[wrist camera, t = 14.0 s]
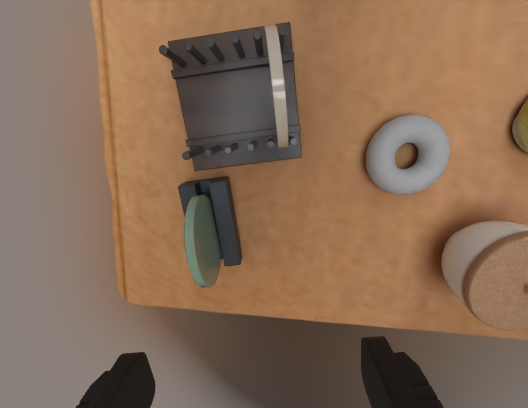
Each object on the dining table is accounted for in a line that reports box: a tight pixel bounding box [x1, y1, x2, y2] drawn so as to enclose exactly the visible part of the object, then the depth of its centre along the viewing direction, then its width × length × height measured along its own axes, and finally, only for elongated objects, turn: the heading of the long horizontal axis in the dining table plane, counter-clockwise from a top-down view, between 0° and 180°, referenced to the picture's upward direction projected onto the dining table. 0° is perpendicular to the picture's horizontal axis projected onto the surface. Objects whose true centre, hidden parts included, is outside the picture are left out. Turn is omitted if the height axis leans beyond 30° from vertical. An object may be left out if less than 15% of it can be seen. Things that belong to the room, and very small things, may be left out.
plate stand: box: [178, 177, 242, 266], centre depth 36 cm, size 12×6×3 cm, turn 7°
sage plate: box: [184, 195, 221, 288], centre depth 32 cm, size 11×1×11 cm, turn 8°
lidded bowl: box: [441, 221, 528, 331], centre depth 33 cm, size 13×13×11 cm
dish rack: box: [159, 22, 302, 171], centre depth 29 cm, size 15×14×8 cm
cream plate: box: [264, 25, 288, 148], centre depth 26 cm, size 11×1×11 cm, turn 7°
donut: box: [366, 114, 450, 195], centre depth 33 cm, size 10×4×10 cm
